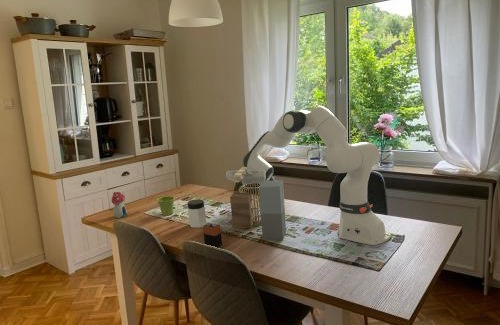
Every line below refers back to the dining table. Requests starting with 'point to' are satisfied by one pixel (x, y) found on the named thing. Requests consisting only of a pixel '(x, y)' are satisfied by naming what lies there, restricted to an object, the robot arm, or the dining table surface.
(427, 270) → the dining table surface
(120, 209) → the decorative ornament
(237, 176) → the bar
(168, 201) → the plant pot
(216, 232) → the battery
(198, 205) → the jar
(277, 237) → the boxes
